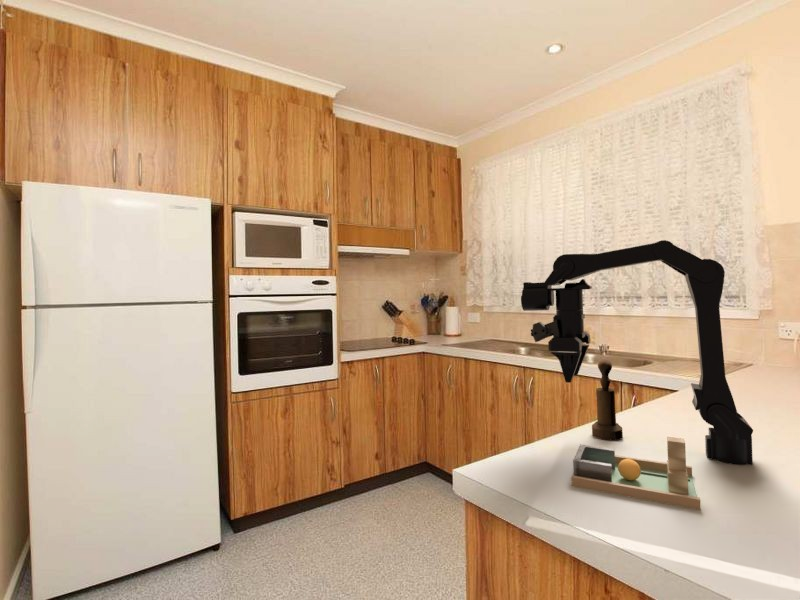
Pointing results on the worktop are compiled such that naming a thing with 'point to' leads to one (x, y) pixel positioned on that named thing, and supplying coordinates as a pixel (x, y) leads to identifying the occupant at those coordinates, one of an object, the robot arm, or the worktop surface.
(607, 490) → the pitch
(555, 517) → the worktop surface
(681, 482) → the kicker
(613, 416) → the pepper mill
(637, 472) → the ball
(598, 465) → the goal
